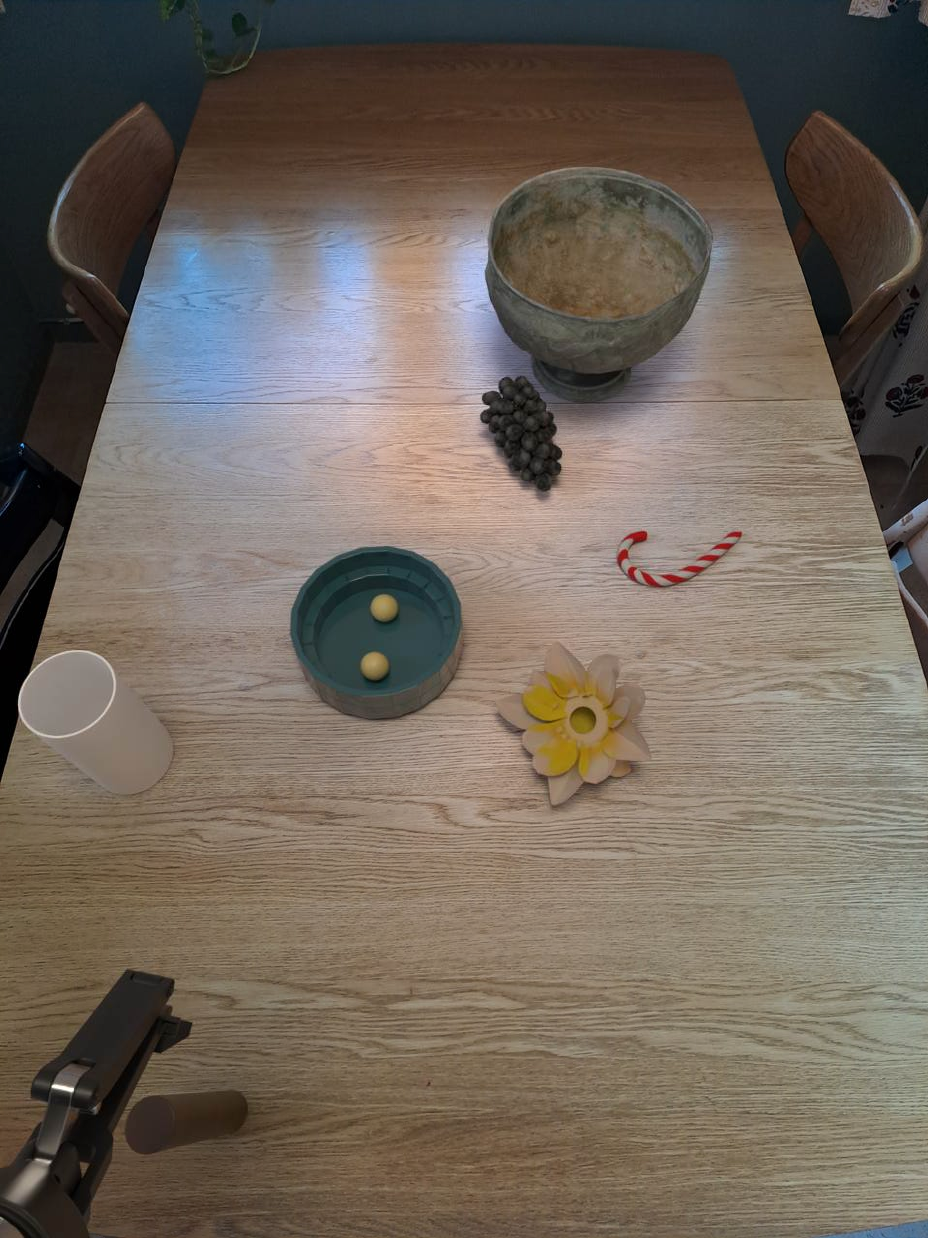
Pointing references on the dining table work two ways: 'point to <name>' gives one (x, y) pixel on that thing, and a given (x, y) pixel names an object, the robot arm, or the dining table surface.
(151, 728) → the cup
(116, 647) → the dining table surface
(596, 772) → the decorative flower
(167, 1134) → the brown wooden dowel
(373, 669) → the bead
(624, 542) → the candy cane
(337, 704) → the teal bowl
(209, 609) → the dining table surface
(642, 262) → the decorative bowl
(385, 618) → the bead
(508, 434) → the fruit
